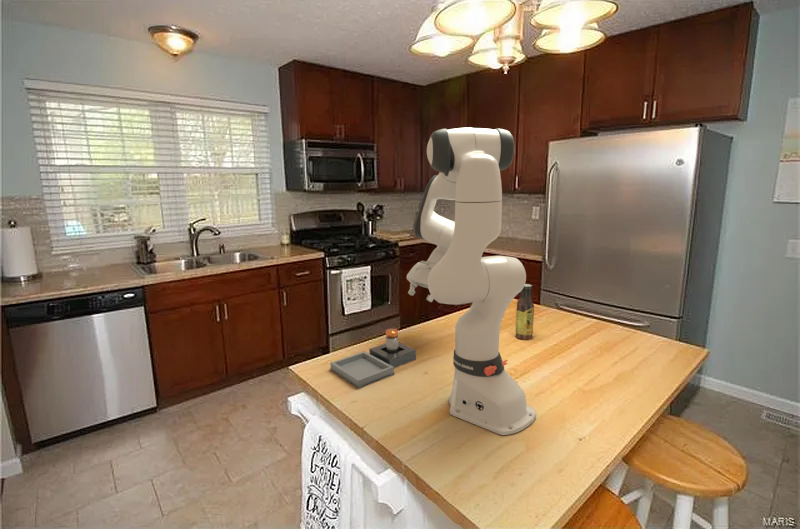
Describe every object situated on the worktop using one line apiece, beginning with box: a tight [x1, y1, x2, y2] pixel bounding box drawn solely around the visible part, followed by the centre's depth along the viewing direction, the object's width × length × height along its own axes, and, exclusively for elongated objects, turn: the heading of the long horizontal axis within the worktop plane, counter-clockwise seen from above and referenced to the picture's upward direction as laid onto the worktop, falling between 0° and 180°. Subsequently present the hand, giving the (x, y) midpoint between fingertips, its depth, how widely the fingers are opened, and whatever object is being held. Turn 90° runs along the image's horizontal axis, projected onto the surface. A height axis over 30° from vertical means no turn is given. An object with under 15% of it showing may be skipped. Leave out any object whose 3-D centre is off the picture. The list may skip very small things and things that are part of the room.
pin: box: [385, 328, 399, 354], centre depth 135 cm, size 4×4×10 cm
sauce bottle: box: [514, 283, 535, 340], centre depth 149 cm, size 7×6×20 cm
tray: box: [329, 350, 395, 390], centre depth 127 cm, size 16×13×2 cm
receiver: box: [368, 341, 417, 369], centre depth 135 cm, size 11×11×4 cm
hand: (419, 297), depth 140 cm, fingers open, 8 cm apart
